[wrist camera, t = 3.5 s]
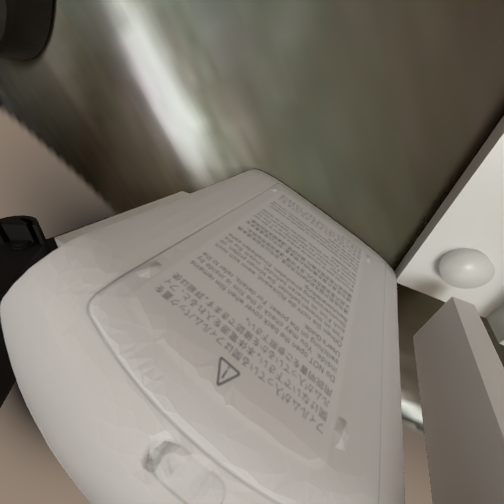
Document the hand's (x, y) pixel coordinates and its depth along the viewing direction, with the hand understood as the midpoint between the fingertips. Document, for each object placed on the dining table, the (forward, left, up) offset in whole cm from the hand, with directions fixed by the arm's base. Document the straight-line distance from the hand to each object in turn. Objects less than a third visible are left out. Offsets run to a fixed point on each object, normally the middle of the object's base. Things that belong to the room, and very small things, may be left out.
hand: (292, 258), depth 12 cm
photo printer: (0, 0, -3) cm, 3 cm away
